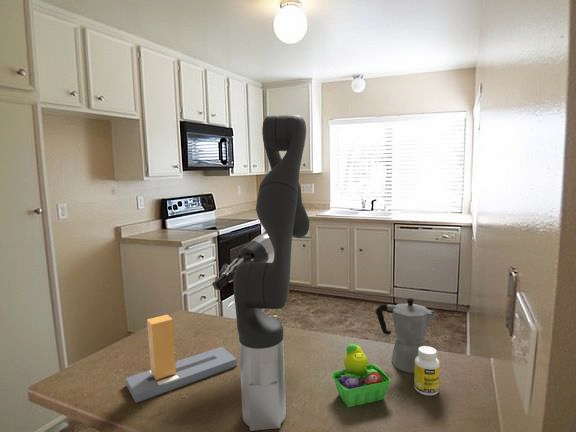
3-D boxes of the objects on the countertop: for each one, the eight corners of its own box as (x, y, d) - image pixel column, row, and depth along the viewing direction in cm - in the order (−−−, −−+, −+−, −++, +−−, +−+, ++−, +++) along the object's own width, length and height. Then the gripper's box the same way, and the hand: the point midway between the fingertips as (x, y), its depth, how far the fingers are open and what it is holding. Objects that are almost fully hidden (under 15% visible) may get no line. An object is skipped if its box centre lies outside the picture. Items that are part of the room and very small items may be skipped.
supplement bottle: (423, 398, 84) (424, 357, 83) (409, 385, 89) (410, 346, 88) (444, 393, 86) (445, 353, 84) (429, 381, 91) (429, 342, 90)
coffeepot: (437, 360, 101) (438, 295, 98) (435, 378, 92) (437, 307, 90) (378, 350, 107) (379, 289, 104) (372, 366, 98) (372, 300, 96)
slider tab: (170, 366, 96) (167, 314, 95) (176, 373, 93) (172, 319, 92) (151, 373, 94) (146, 319, 92) (155, 380, 90) (151, 324, 89)
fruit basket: (345, 412, 80) (344, 362, 79) (329, 389, 89) (328, 344, 87) (392, 402, 83) (392, 353, 82) (372, 380, 92) (372, 337, 90)
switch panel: (222, 353, 108) (221, 346, 108) (237, 365, 101) (236, 358, 100) (126, 385, 93) (125, 377, 92) (135, 403, 85) (135, 394, 85)
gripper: (239, 241, 111) (194, 274, 99) (269, 238, 101) (223, 274, 90) (249, 263, 113) (207, 297, 101) (280, 262, 103) (237, 300, 92)
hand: (215, 287), depth 96 cm, fingers closed
